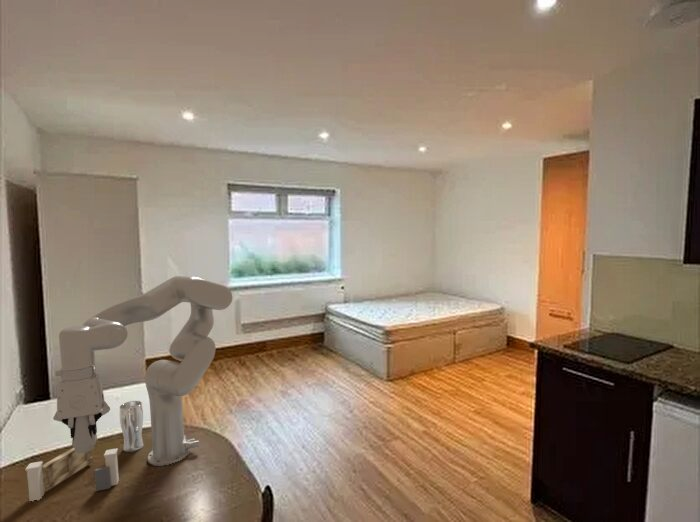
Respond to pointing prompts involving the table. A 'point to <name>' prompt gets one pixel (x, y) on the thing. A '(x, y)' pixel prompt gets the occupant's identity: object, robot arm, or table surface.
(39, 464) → the gate posts
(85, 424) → the salt shaker
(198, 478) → the table surface
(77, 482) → the table surface
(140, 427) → the beer glass
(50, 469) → the gate
